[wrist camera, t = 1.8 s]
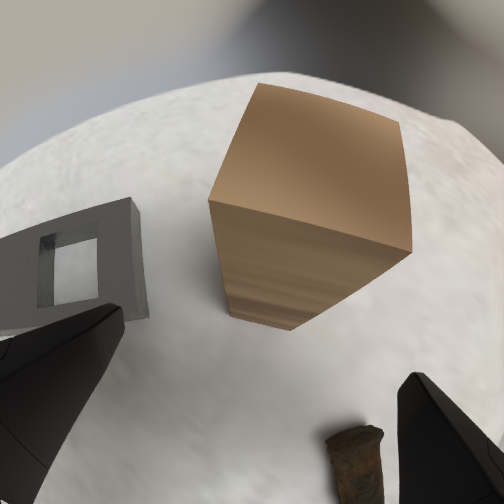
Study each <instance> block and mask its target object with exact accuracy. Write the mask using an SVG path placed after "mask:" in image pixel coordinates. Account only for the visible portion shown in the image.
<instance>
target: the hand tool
mask: <svg viewBox="0 0 504 504" xmlns="http://www.w3.org/2000/svg"><path fill="white" fill-rule="evenodd" d="M383 436H384V432H383V430H382V429H380V428H377V427H374V426H373V425H367V426H359V427H356V428H354V429H350V430H346V431H343V432H340V433H338V434H336V435H334V436H332V437H330V438H329V439H327V440H326V445H327V450H328V452H329V453H330V454H331V464H332V465H334V466H335V473H336V485H337V487H338V488H337V491H338V496H339V498H340V499H341V504H384V486H383V473H382V466H381V457H380V442H381V440H382V438H383Z"/></svg>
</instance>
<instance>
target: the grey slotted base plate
mask: <svg viewBox="0 0 504 504" xmlns="http://www.w3.org/2000/svg"><path fill="white" fill-rule="evenodd" d="M96 237H97V270H98V292H99V298H96V299H90V300H85V301H79V302H73V303H68V304H62V305H56V306H54V294H53V282H54V253H55V248H59V247H62V246H66V245H70V244H73V243H77V242H81V241H85V240H88V239H92V238H96ZM109 302H111V303H114V304H117V305H120V306H121V307H122V308H123V313H124V322H125V321H132V320H138V319H144V318H149V311H148V304H147V296H146V288H145V278H144V268H143V257H142V244H141V227H140V212H139V210H138V209H137V207H136V205H135V203H134V202H133V200H132V198H131V197H128V198H124V199H120V200H117V201H113V202H109V203H105V204H102V205H98V206H95V207H91V208H88V209H85V210H81V211H78V212H75V213H71V214H68V215H65V216H62V217H59V218H56V219H53V220H50V221H47V222H44V223H41V224H38V225H35V226H32V227H30V228H27V229H24V230H22V231H19V232H16V233H14V234H11V235H8V236H6V237H3V238H1V239H0V337H1V336H13V335H19V334H22V333H25V332H28V331H31V330H33V329H36V328H39V327H42V326H45V325H47V324H50V323H53V322H56V321H59V320H61V319H64V318H67V317H70V316H73V315H75V314H78V313H81V312H84V311H87V310H89V309H92V308H95V307H98V306H101V305H103V304H106V303H109Z"/></svg>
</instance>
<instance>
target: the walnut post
mask: <svg viewBox="0 0 504 504" xmlns="http://www.w3.org/2000/svg"><path fill="white" fill-rule="evenodd" d="M208 202H209V208H210V214H211V219H212V225H213V230H214V236H215V241H216V247H217V252H218V257H219V262H220V268H221V273H222V278H223V283H224V288H225V293H226V297H227V302H228V307H229V312H230V316H231V317H235V318H238V319H242V320H246V321H250V322H254V323H259V324H263V325H267V326H271V327H276V328H280V329H284V330H289V331H291V330H293V329H295V328H296V327H298V326H300V325H302V324H303V323H305V322H307V321H309V320H310V319H312V318H314V317H315V316H317V315H319V314H321V313H322V312H324V311H326V310H327V309H329V308H330V307H332V306H334V305H335V304H337V303H339V302H340V301H342V300H343V299H345V298H347V297H348V296H350V295H351V294H353V293H354V292H356V291H357V290H359V289H361V288H362V287H364V286H365V285H367V284H368V283H370V282H371V281H373V280H374V279H376V278H377V277H379V276H380V275H381V274H383V273H384V272H386V271H387V270H389V269H390V268H392V267H393V266H394V265H396V264H397V263H399V262H400V261H401V260H403V259H404V258H406V257H407V256H408V255H410V254H411V253H412V224H411V207H410V195H409V185H408V176H407V168H406V161H405V154H404V148H403V142H402V137H401V131H400V126H399V122H397V121H394V120H392V119H389V118H387V117H384V116H381V115H379V114H376V113H373V112H370V111H367V110H365V109H362V108H359V107H356V106H353V105H349V104H346V103H343V102H340V101H336V100H333V99H329V98H326V97H322V96H318V95H314V94H310V93H306V92H302V91H298V90H293V89H289V88H284V87H279V86H274V85H268V84H262V83H258V84H257V86H256V88H255V91H254V93H253V95H252V97H251V99H250V101H249V103H248V106H247V108H246V110H245V112H244V114H243V117H242V119H241V121H240V123H239V126H238V128H237V130H236V133H235V135H234V137H233V139H232V142H231V144H230V146H229V149H228V151H227V154H226V156H225V158H224V161H223V163H222V166H221V168H220V171H219V173H218V176H217V178H216V180H215V183H214V186H213V188H212V191H211V193H210V196H209V198H208Z"/></svg>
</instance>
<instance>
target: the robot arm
mask: <svg viewBox="0 0 504 504" xmlns="http://www.w3.org/2000/svg"><path fill="white" fill-rule="evenodd" d="M124 330H125V324H124V313H123V308H122V307H121V306H120V305H117V304H114V303H111V302H109V303H106V304H103V305H101V306H98V307H95V308H92V309H89V310H87V311H84V312H81V313H78V314H75V315H73V316H70V317H67V318H64V319H61V320H59V321H56V322H53V323H50V324H47V325H45V326H42V327H39V328H36V329H33V330H31V331H28V332H25V333H22V334H19V335H17V336H14V337H13V338H12V337H11V338H8V339H5V340H3V341H0V500H3V501H5V502H6V503H8V504H33V503H34V500H35V498H36V496H37V494H38V492H39V490H40V488H41V485H42V483H43V481H44V479H45V477H46V475H47V473H48V471H49V469H50V467H51V465H52V463H53V461H54V459H55V457H56V455H57V454H58V452H59V450H60V448H61V446H62V444H63V442H64V441H65V439H66V437H67V435H68V433H69V432H70V430H71V428H72V426H73V425H74V423H75V421H76V419H77V418H78V416H79V414H80V412H81V411H82V409H83V407H84V406H85V404H86V402H87V401H88V399H89V397H90V396H91V394H92V392H93V391H94V389H95V387H96V386H97V384H98V383H99V381H100V379H101V378H102V376H103V374H104V373H105V371H106V369H107V367H108V365H109V362H110V360H111V358H112V356H113V354H114V352H115V350H116V348H117V346H118V344H119V342H120V340H121V338H122V336H123V334H124ZM397 407H398V420H397V436H398V454H399V504H504V453H503V452H502V451H501V450H500V449H499V448H498V447H497V446H496V445H495V444H494V443H493V442H492V441H491V440H490V439H489V438H488V437H487V436H486V435H485V434H484V433H483V432H482V430H481V429H480V428H479V427H478V426H477V425H476V424H475V423H474V422H473V421H472V420H471V419H470V418H469V417H468V416H467V415H466V414H465V413H464V412H463V411H462V410H461V409H460V408H459V407H458V406H457V405H456V404H455V403H454V402H453V401H452V400H451V399H450V398H449V397H448V396H447V395H446V394H445V393H444V392H443V391H442V390H441V389H440V388H439V387H438V386H437V385H436V384H435V383H434V382H432V381H431V380H430V379H429V378H428V377H427V376H426V375H425V374H424V373H422V372H412V373H411V374H410V375H409V376H408V378H407V379H406V380H405V382H404V383H403V384H402V385H401V387H400V388H399V390H398V394H397ZM0 504H1V501H0Z"/></svg>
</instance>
